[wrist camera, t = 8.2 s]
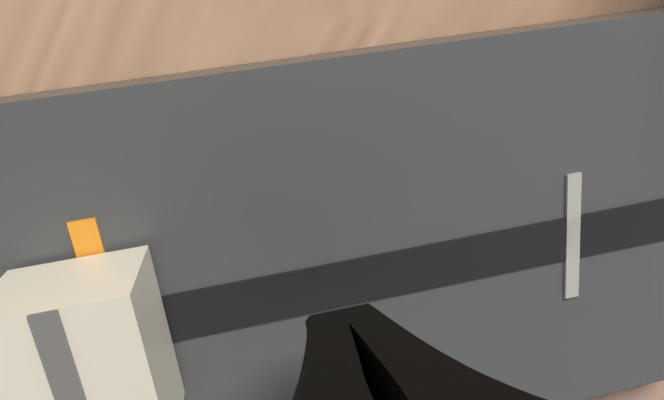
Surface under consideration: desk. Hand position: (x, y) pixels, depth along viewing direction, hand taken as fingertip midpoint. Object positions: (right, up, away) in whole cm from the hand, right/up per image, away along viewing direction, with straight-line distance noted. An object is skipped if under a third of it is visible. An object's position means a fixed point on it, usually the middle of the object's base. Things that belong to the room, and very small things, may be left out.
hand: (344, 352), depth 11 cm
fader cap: (-6, 0, +2) cm, 6 cm away
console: (0, +2, +5) cm, 5 cm away
